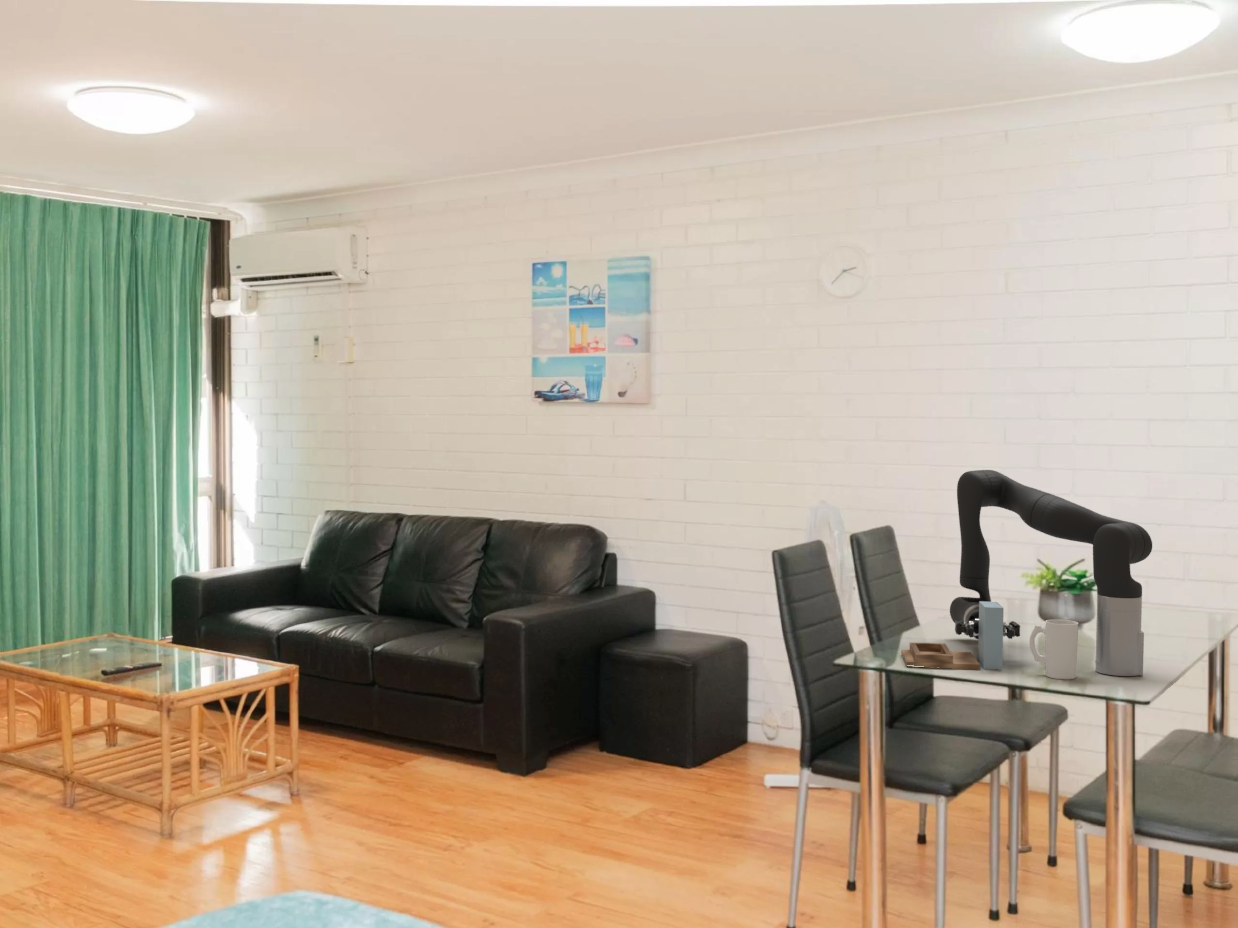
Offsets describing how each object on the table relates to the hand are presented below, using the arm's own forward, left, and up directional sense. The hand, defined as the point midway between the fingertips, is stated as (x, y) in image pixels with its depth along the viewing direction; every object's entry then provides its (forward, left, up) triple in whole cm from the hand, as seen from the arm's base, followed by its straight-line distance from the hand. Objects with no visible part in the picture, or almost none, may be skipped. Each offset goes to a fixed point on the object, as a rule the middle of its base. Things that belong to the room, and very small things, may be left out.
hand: (991, 633), depth 277 cm
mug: (-12, +8, -8) cm, 16 cm away
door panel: (0, -1, -8) cm, 8 cm away
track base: (+11, -3, -8) cm, 14 cm away
